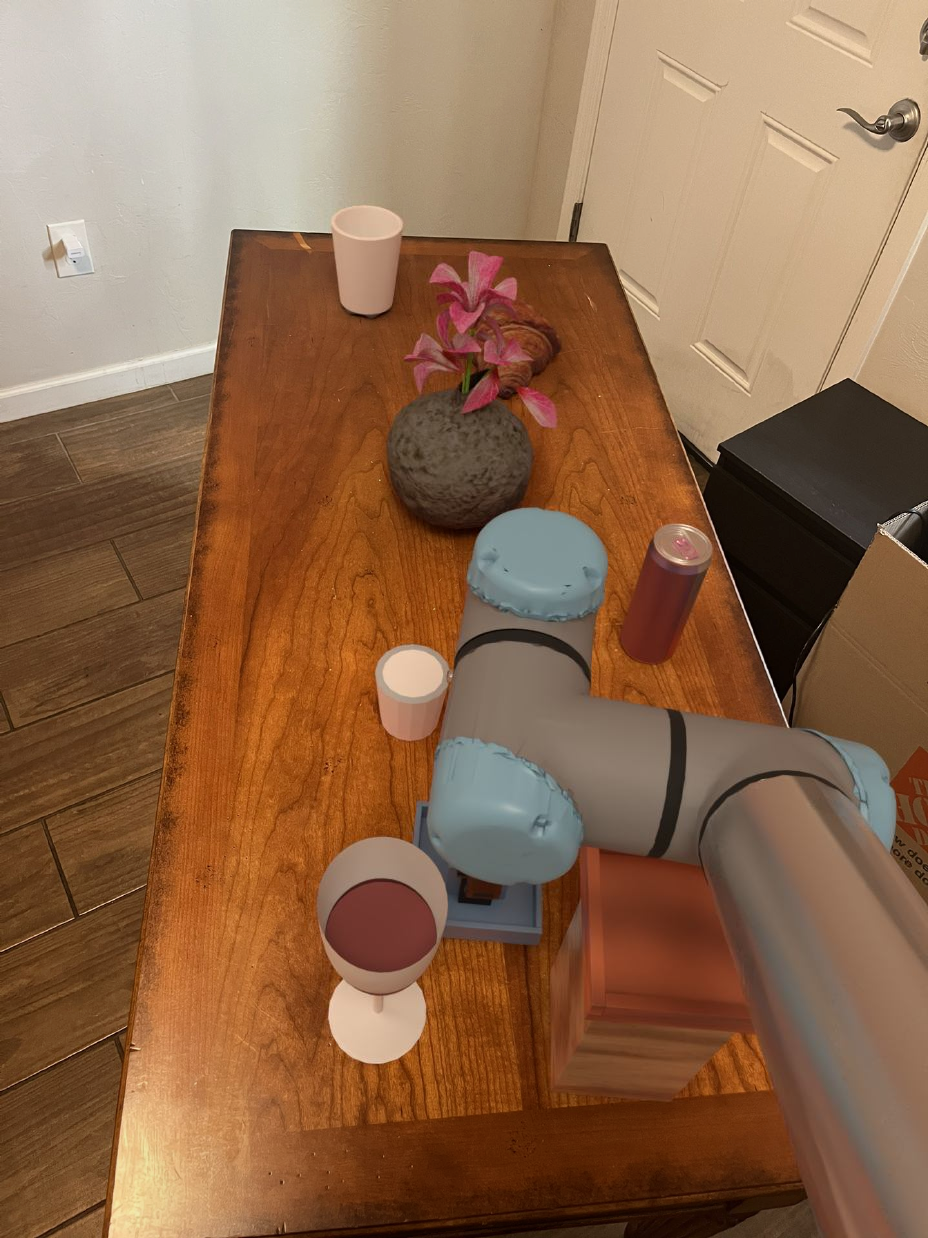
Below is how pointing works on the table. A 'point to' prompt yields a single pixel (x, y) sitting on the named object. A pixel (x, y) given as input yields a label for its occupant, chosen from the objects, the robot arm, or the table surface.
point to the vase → (465, 412)
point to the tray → (495, 923)
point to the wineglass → (380, 943)
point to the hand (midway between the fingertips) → (476, 867)
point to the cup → (366, 257)
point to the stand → (641, 981)
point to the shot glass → (411, 690)
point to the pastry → (532, 338)
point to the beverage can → (665, 592)
